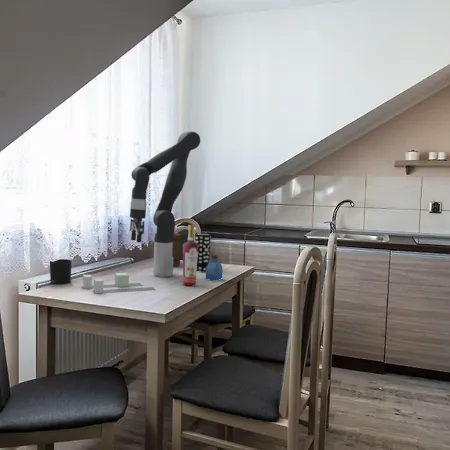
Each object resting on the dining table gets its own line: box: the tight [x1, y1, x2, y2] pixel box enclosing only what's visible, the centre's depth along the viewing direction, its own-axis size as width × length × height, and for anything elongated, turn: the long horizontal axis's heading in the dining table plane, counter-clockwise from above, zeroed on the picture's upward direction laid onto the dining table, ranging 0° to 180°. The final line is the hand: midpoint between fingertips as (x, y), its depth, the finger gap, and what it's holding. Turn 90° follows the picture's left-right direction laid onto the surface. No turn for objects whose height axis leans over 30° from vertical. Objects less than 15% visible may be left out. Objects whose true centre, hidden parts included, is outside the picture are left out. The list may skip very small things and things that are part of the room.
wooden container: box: [154, 232, 181, 268], centre depth 276 cm, size 15×15×22 cm
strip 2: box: [92, 278, 157, 295], centre depth 205 cm, size 26×6×6 cm, turn 115°
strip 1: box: [81, 274, 144, 290], centre depth 213 cm, size 26×6×6 cm, turn 115°
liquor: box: [181, 224, 198, 287], centre depth 224 cm, size 7×7×28 cm
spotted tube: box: [194, 233, 212, 273], centre depth 263 cm, size 8×8×20 cm
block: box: [114, 272, 130, 288], centre depth 214 cm, size 5×5×5 cm
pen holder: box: [49, 258, 73, 285], centre depth 219 cm, size 9×9×10 cm
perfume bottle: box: [205, 254, 224, 281], centre depth 241 cm, size 6×6×12 cm
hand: (136, 241), depth 236 cm, fingers open, 8 cm apart
